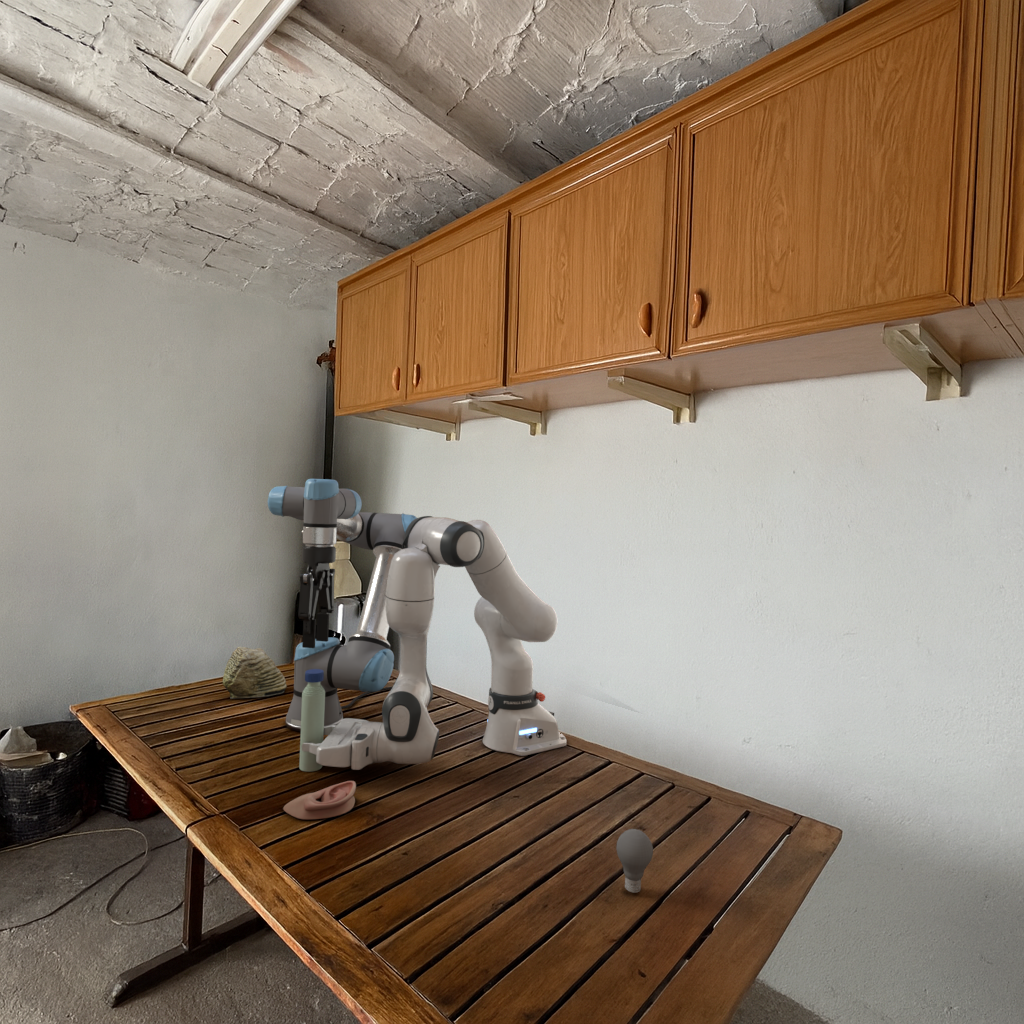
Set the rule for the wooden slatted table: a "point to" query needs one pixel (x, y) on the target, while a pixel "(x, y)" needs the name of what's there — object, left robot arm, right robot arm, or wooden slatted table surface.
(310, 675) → the cap
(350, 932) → the wooden slatted table surface
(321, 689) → the bottle
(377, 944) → the wooden slatted table surface
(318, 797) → the anatomical model
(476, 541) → the right robot arm
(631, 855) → the light bulb
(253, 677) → the fossil
